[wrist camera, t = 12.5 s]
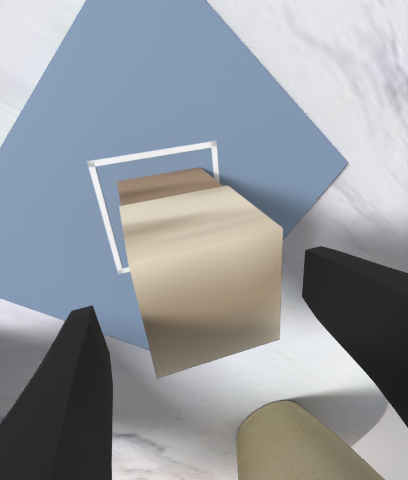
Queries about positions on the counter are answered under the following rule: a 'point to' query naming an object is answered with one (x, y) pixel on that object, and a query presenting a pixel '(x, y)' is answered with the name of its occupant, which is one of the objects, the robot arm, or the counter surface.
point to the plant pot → (295, 448)
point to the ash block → (203, 275)
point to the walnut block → (164, 185)
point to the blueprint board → (141, 149)
